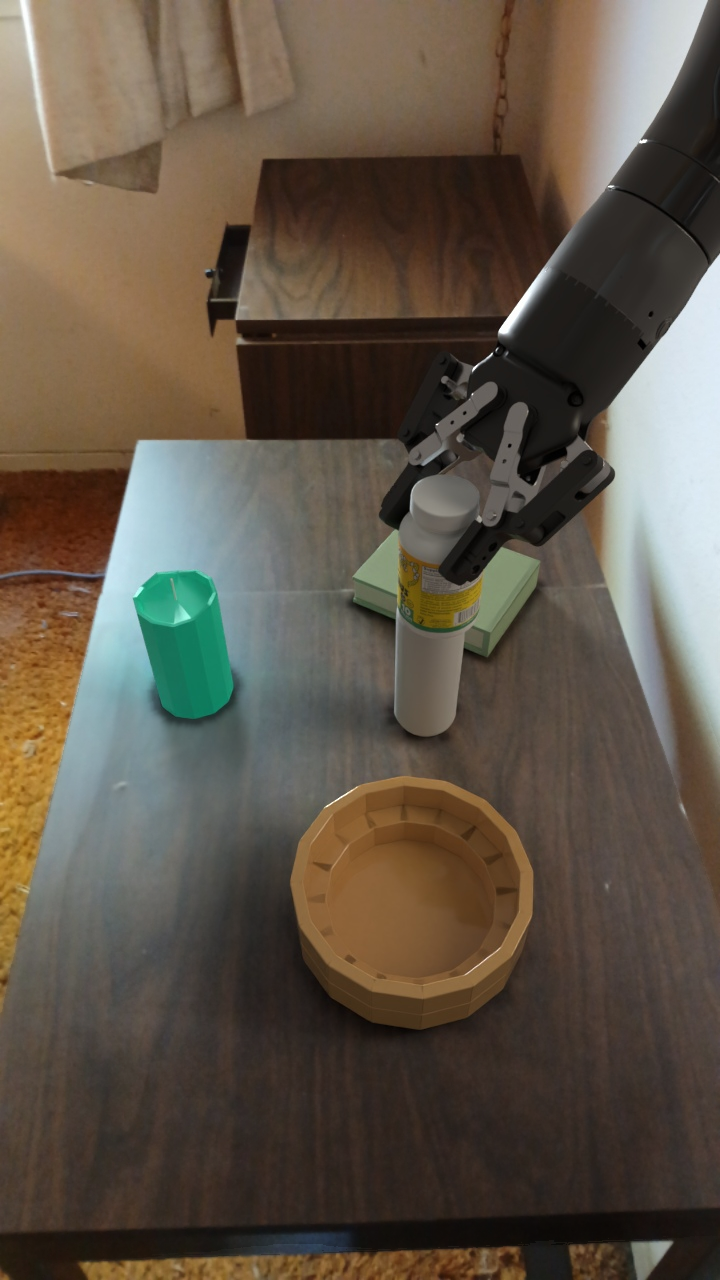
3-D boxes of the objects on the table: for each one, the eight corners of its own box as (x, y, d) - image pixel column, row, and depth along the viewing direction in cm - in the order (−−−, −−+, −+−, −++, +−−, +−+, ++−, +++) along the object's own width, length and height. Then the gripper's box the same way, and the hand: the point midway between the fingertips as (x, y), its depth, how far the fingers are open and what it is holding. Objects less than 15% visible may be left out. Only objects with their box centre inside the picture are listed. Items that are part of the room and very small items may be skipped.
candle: (247, 675, 72) (230, 564, 63) (208, 729, 68) (184, 619, 60) (184, 653, 74) (159, 542, 65) (143, 704, 70) (110, 593, 61)
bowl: (558, 879, 59) (570, 840, 56) (459, 1079, 51) (465, 1048, 47) (370, 785, 65) (370, 744, 61) (252, 952, 56) (243, 915, 52)
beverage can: (451, 690, 71) (462, 579, 62) (460, 738, 67) (472, 628, 59) (391, 694, 71) (393, 583, 62) (396, 742, 67) (399, 632, 59)
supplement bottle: (478, 644, 56) (493, 526, 49) (394, 639, 57) (396, 522, 50) (478, 585, 60) (491, 468, 53) (398, 582, 60) (401, 465, 53)
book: (536, 586, 79) (540, 561, 77) (487, 657, 73) (490, 632, 71) (408, 538, 84) (409, 513, 82) (352, 602, 78) (352, 576, 76)
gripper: (484, 223, 50) (314, 471, 54) (678, 325, 42) (461, 607, 46) (542, 289, 56) (385, 508, 60) (723, 390, 48) (526, 635, 52)
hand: (419, 550), depth 53 cm, fingers closed on supplement bottle, 5 cm apart
